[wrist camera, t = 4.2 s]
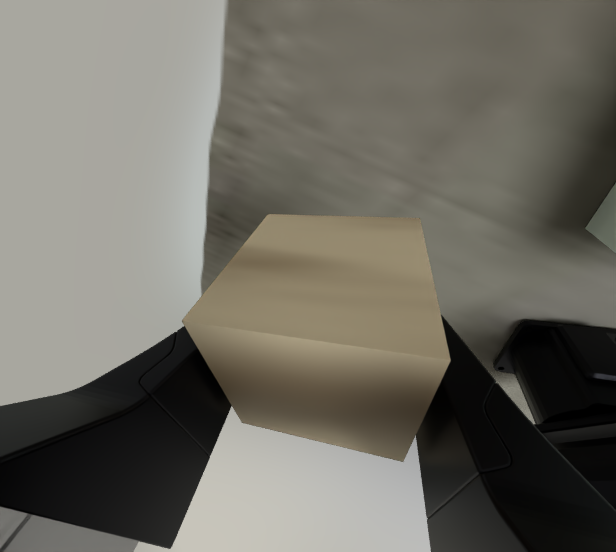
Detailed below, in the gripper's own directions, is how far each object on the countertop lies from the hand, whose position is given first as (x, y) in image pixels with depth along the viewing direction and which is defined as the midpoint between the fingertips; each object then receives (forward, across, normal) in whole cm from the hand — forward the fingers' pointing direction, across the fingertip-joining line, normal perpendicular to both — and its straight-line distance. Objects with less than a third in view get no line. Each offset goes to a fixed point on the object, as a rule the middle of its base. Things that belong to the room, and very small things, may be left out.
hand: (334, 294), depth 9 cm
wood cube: (+1, 0, 0) cm, 1 cm away
